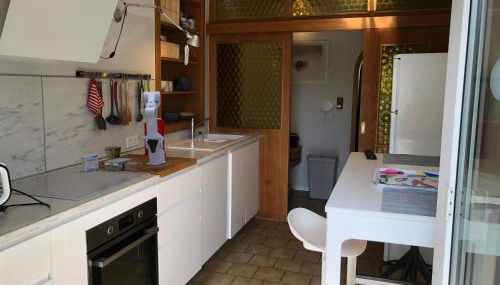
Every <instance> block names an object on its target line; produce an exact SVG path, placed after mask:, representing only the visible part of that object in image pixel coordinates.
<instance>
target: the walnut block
mask: <svg viewBox="0 0 500 285" xmlns="http://www.w3.org/2000/svg"><path fill="white" fill-rule="evenodd" d="M124 165H125V169H124V171H133V172H134V171H135V172H138V171H141V170H142V169H143V165H142V162H138V161H133V162H128V163H124ZM140 169H141V170H140Z"/></svg>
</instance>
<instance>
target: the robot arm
mask: <svg viewBox="0 0 500 285" xmlns="http://www.w3.org/2000/svg"><path fill="white" fill-rule="evenodd" d="M142 94H143V95H142V96H143V102H144V103H143V104H144V107H145V108H144V117H145V121H146V122H145V124H146V135H141V136H140V140H142V141H143V140H144V141H145V149H147V150H148V162H147V163H145V164H146V165H153V166H158V165H161V164H164V163H166V162H167V161H166V159H165V156H166V154H165V151H164V149H163V148H164V144H163V141H165V136H162V134H160V133H159V132H158V107H160V106H161V92H160V91H159V90H157V91H144V92H143V93H142Z"/></svg>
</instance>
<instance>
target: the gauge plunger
mask: <svg viewBox="0 0 500 285" xmlns="http://www.w3.org/2000/svg"><path fill="white" fill-rule="evenodd" d="M128 162H134V160H133V161H130V160H129V161H125V162H121V163H120V165H119V166H115V167H120V169H124V168H125V165H124V163H128ZM110 166H111V169H112V166H114V165H112V163H110ZM124 170H125V169H124Z"/></svg>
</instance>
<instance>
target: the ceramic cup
mask: <svg viewBox="0 0 500 285" xmlns="http://www.w3.org/2000/svg"><path fill="white" fill-rule="evenodd" d="M103 149H104V154H105V156H106V161H109V160H113V159H117V158H121V150H122V146H121V145H109V146H104V148H103Z"/></svg>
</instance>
